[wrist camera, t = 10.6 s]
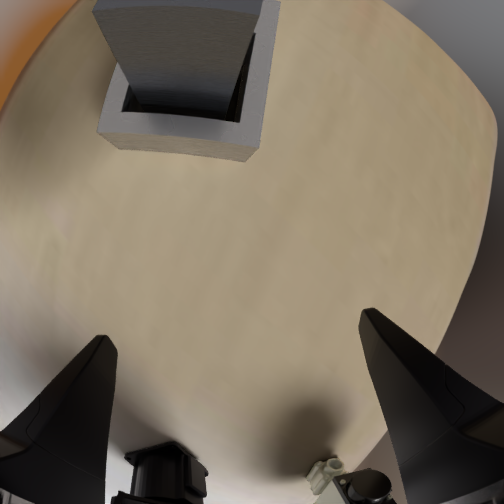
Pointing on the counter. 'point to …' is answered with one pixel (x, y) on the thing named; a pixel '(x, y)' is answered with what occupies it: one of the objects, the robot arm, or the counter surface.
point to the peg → (180, 50)
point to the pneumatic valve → (348, 484)
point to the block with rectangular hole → (195, 128)
